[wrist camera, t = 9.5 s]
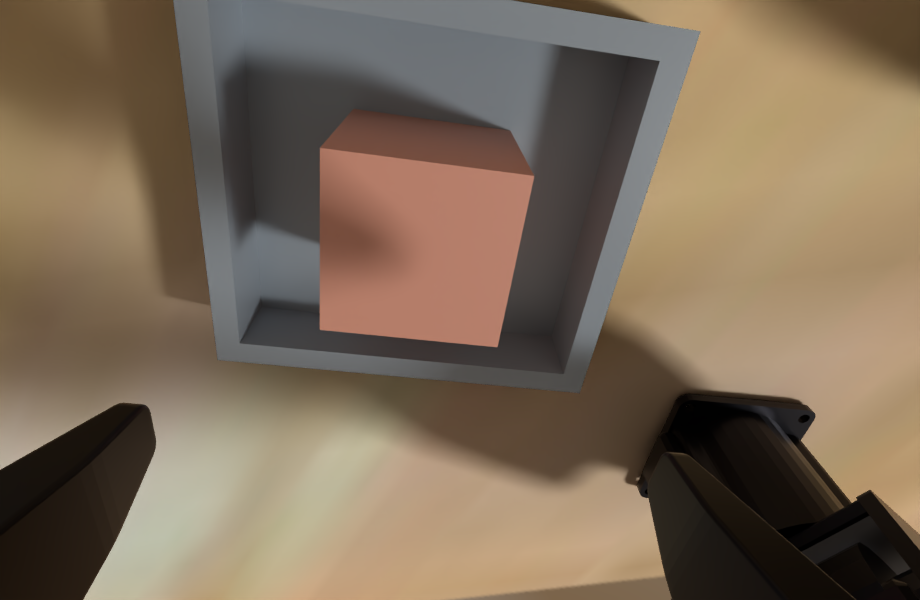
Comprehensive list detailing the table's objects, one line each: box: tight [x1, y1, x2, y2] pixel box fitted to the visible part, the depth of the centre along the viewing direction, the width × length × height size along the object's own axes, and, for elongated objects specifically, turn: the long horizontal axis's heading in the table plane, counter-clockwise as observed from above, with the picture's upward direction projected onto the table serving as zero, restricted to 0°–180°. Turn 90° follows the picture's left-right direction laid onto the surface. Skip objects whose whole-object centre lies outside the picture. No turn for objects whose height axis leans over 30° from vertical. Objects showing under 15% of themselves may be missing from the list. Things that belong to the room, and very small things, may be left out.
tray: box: [173, 0, 700, 393], centre depth 17 cm, size 13×12×3 cm
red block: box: [320, 109, 534, 347], centre depth 15 cm, size 5×5×5 cm
